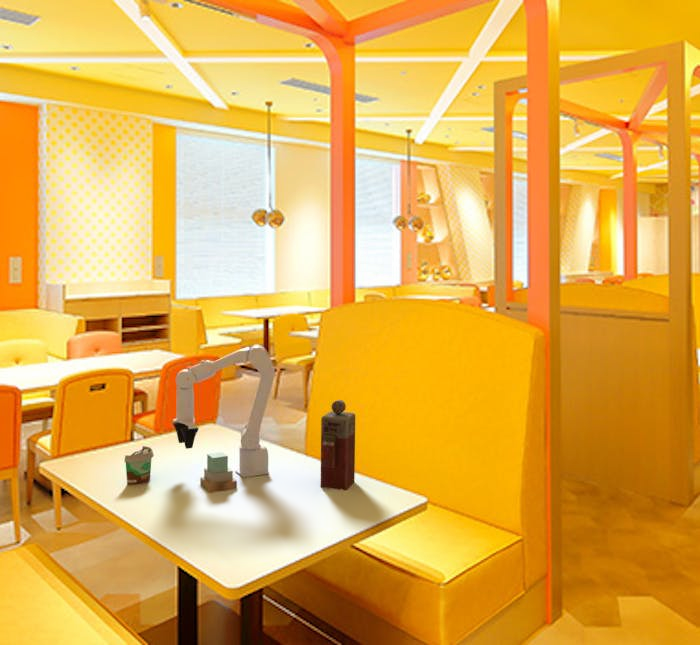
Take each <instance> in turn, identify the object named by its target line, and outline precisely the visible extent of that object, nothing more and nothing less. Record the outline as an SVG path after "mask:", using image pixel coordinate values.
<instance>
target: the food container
mask: <svg viewBox="0 0 700 645" xmlns="http://www.w3.org/2000/svg"><path fill="white" fill-rule="evenodd" d="M154 456H155V455H154V452H153V449H152V447H149V446H146V445H145V446H144V445H142V447H141V449H139V450H137V451H134V452H133V453H131V454H130V455H128V454H127V455H124V461H123V462H124V463H125V472H126V485H128V486H136V485H143V484H146V483H148V482H150V481H151V471H152V470H151V469H152V459H153V457H154Z"/></svg>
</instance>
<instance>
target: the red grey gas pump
mask: <svg viewBox="0 0 700 645" xmlns="http://www.w3.org/2000/svg"><path fill="white" fill-rule="evenodd" d="M346 408H347V405H346V403H345V402H344V400H341V399H337V400H335V401H333V403H332V404H331V411H330V412H328V413H327V412H326V413H325V415H323V416H322V417H321V420H320V421H321V422H320V428H321V429H320V488H325V489H332V488H333V490H340V489H343V490H342V491H347V490H349V488H350V487H351V486H352V485H353V484H354V483H355V473H356V472H355V468H356V466H355V464H356V460H355V459H356V414H355V413H354V412H346V411H345V410H346Z"/></svg>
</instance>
